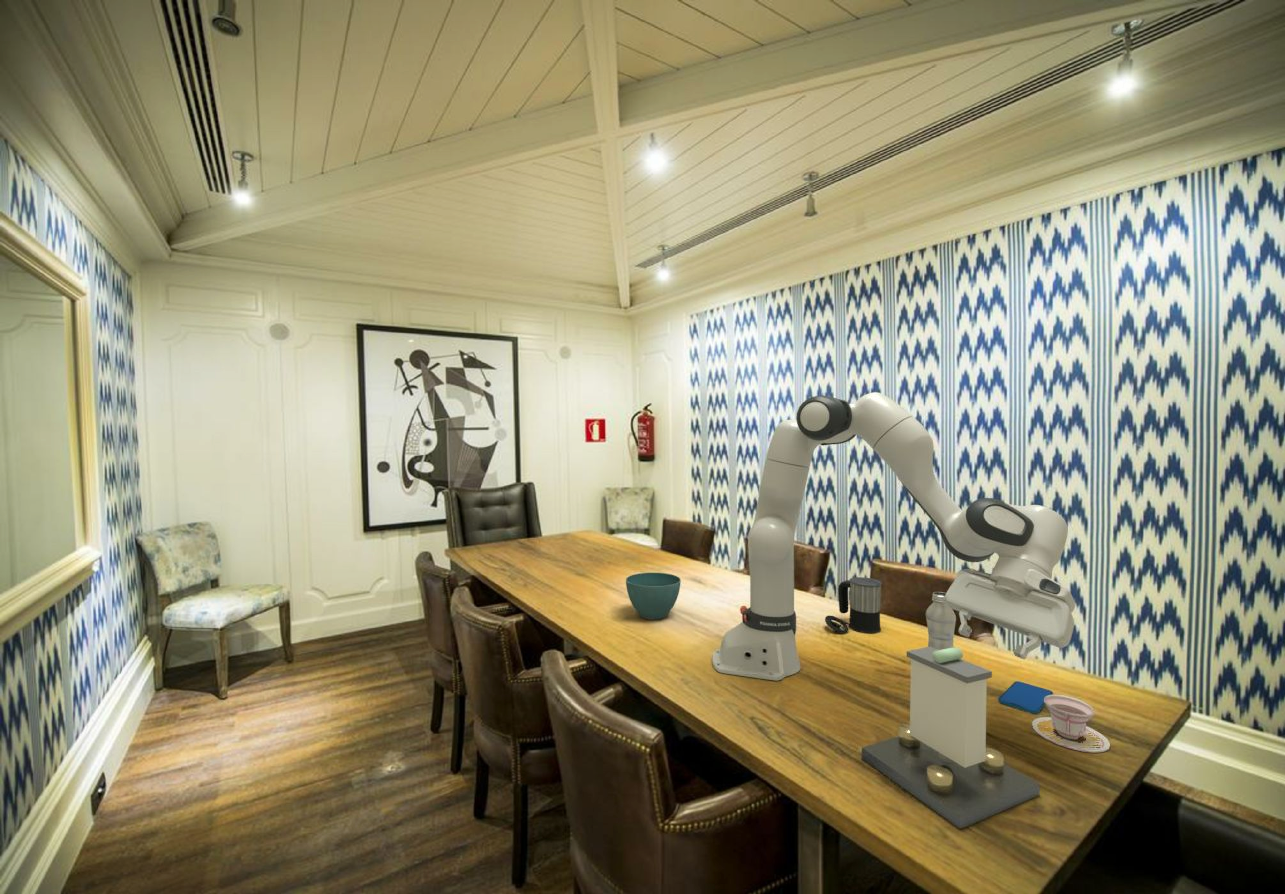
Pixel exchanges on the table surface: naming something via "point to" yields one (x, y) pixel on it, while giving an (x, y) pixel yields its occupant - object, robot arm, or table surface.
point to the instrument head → (948, 704)
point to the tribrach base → (965, 782)
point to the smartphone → (1025, 697)
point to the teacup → (1071, 723)
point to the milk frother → (858, 606)
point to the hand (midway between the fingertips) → (990, 645)
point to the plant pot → (653, 593)
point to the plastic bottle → (940, 623)
